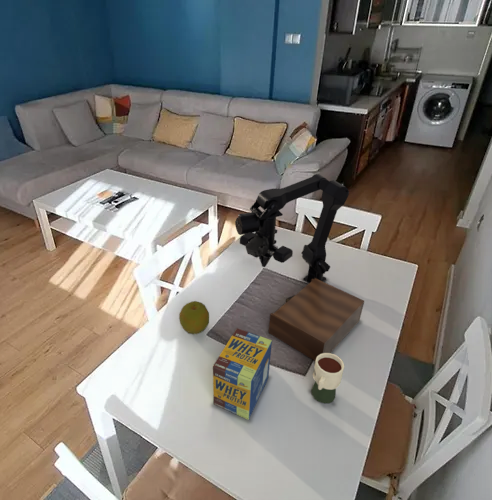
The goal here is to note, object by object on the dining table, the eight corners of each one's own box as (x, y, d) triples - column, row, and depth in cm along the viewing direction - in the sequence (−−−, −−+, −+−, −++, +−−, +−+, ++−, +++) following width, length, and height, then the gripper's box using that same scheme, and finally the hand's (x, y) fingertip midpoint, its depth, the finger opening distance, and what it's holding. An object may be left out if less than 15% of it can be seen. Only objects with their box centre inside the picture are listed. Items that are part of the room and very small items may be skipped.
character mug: (318, 375, 110) (324, 343, 103) (342, 387, 107) (351, 355, 100) (302, 402, 103) (308, 370, 96) (327, 416, 99) (335, 384, 92)
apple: (187, 315, 133) (185, 291, 127) (213, 322, 130) (213, 297, 124) (175, 335, 125) (173, 310, 119) (203, 342, 122) (202, 317, 116)
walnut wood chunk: (309, 296, 140) (312, 276, 135) (359, 321, 128) (364, 300, 124) (268, 332, 125) (270, 312, 120) (320, 364, 114) (324, 343, 109)
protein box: (212, 405, 103) (211, 366, 95) (236, 364, 114) (236, 326, 106) (249, 421, 99) (251, 382, 90) (269, 377, 110) (273, 338, 102)
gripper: (229, 227, 128) (229, 266, 137) (275, 248, 117) (271, 288, 125) (250, 216, 135) (248, 253, 143) (295, 234, 123) (291, 273, 132)
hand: (264, 266), depth 136 cm, fingers closed
